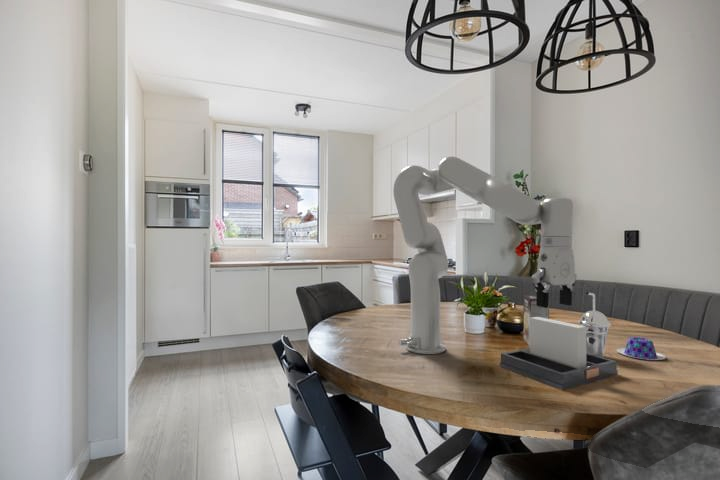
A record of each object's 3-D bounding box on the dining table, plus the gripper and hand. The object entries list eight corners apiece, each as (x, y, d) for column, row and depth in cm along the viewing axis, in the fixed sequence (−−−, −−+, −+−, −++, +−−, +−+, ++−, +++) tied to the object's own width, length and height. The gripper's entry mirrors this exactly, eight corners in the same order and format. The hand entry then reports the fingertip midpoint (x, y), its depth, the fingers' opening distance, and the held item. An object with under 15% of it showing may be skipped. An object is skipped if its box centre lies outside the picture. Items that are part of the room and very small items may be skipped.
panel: (577, 375, 91) (577, 328, 92) (529, 359, 104) (529, 317, 104) (586, 373, 93) (586, 326, 93) (538, 357, 106) (537, 316, 106)
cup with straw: (618, 359, 108) (618, 292, 108) (593, 361, 106) (592, 293, 106) (594, 350, 116) (594, 288, 116) (570, 352, 114) (570, 289, 114)
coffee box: (522, 339, 130) (522, 294, 130) (542, 340, 128) (542, 295, 128) (529, 346, 121) (529, 298, 121) (550, 348, 119) (550, 299, 119)
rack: (563, 390, 85) (563, 375, 85) (499, 366, 101) (499, 353, 102) (619, 374, 95) (618, 361, 95) (552, 354, 112) (552, 343, 112)
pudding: (610, 354, 113) (610, 338, 113) (624, 348, 120) (624, 332, 120) (658, 365, 104) (658, 346, 104) (671, 357, 111) (670, 340, 111)
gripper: (547, 243, 92) (545, 310, 92) (588, 244, 99) (587, 306, 99) (522, 242, 98) (520, 305, 98) (563, 243, 106) (561, 301, 106)
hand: (554, 305), depth 99 cm, fingers open, 9 cm apart
